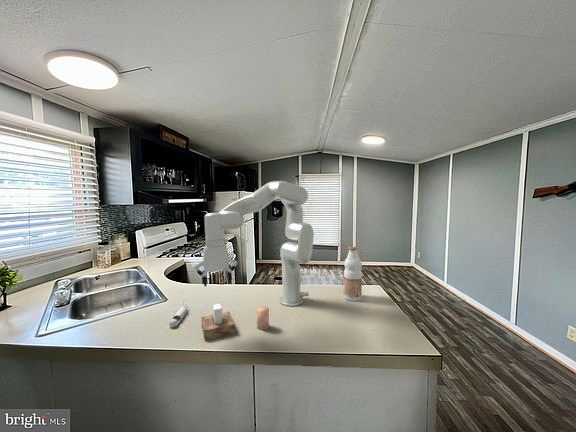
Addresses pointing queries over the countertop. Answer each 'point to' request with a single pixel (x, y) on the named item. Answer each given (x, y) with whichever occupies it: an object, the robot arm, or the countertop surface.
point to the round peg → (263, 318)
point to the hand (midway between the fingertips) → (217, 283)
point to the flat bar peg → (217, 314)
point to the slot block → (217, 326)
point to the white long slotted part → (178, 316)
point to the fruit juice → (352, 276)
